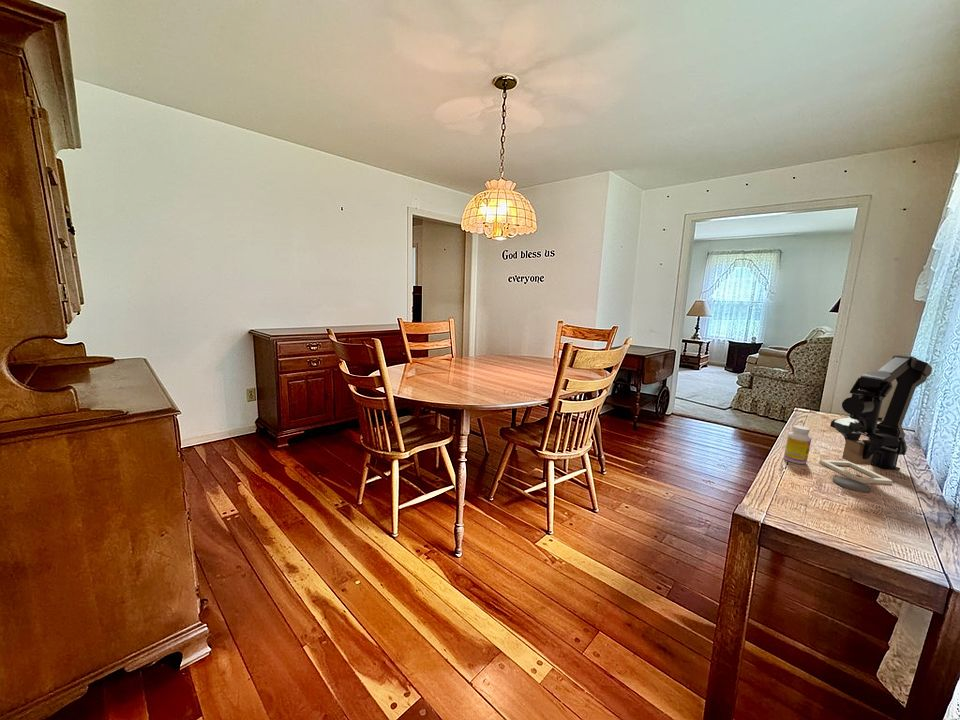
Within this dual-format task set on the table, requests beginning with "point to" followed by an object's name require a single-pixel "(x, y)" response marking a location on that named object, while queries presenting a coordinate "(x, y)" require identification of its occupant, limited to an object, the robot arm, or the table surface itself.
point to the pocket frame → (875, 479)
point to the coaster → (851, 484)
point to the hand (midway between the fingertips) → (857, 455)
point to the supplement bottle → (798, 445)
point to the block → (855, 452)
